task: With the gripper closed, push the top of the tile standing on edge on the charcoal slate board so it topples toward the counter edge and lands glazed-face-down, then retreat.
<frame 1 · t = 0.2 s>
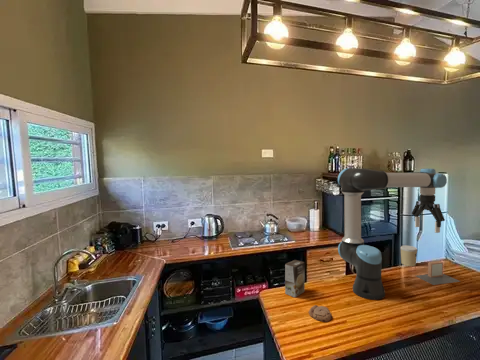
hand: (426, 229, 160), 26 cm above the counter, fingers open, 13 cm apart
coffee cup: (408, 266, 174), on the counter
tile: (435, 275, 155), point 1 cm above the counter, touching slate board
coffee box: (295, 293, 141), on the counter
cookie: (320, 316, 120), on the counter
slate board: (437, 280, 152), on the counter
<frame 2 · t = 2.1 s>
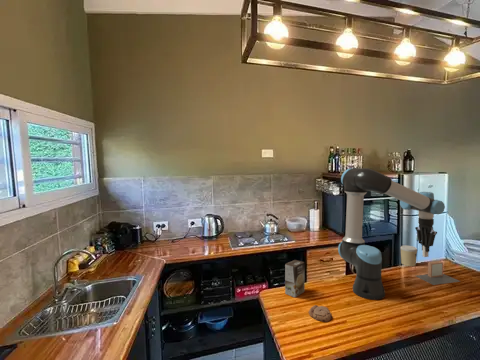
hand: (425, 256, 161), 10 cm above the counter, fingers closed
nothing on the counter moved.
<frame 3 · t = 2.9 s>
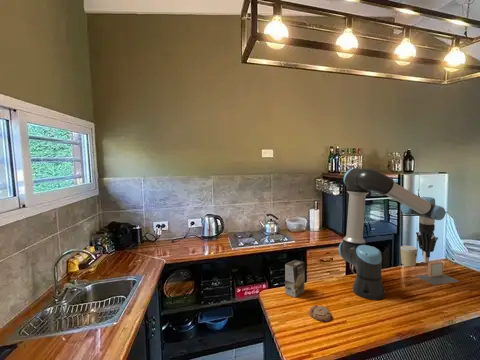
hand: (425, 261, 161), 7 cm above the counter, fingers closed
nothing on the counter moved.
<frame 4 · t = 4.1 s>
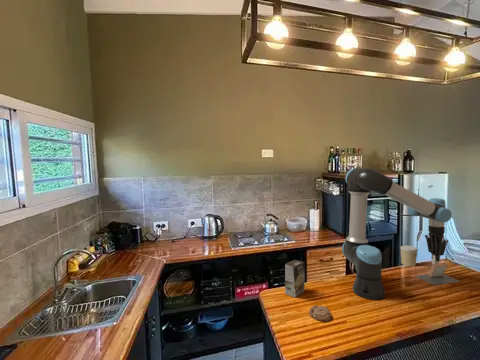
hand: (435, 265, 154), 7 cm above the counter, fingers closed
tile: (435, 275, 155), point 2 cm above the counter, tilted 21°, touching slate board
everything else where it was.
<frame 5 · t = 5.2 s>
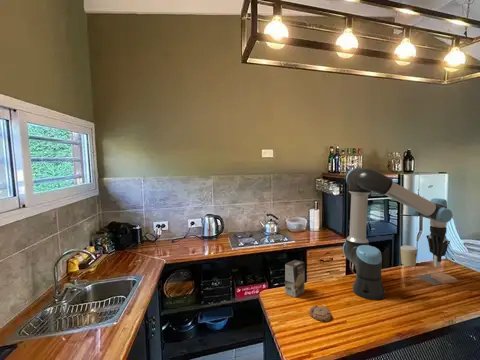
hand: (437, 266, 153), 7 cm above the counter, fingers closed
tile: (436, 274, 154), point 2 cm above the counter, tilted 90°, touching slate board
everything else where it was.
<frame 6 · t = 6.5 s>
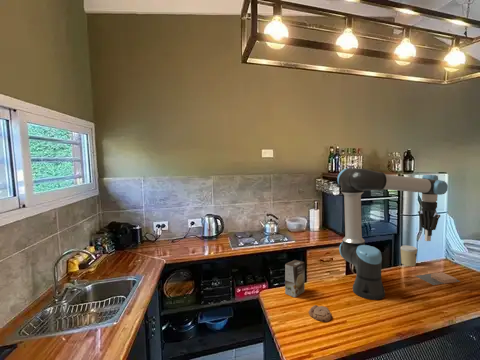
hand: (427, 240, 158), 21 cm above the counter, fingers closed
nothing on the counter moved.
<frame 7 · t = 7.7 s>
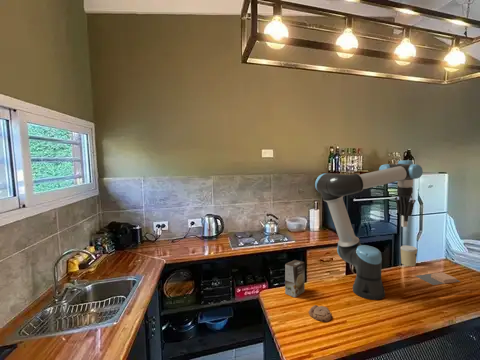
hand: (404, 226, 158), 29 cm above the counter, fingers closed
nothing on the counter moved.
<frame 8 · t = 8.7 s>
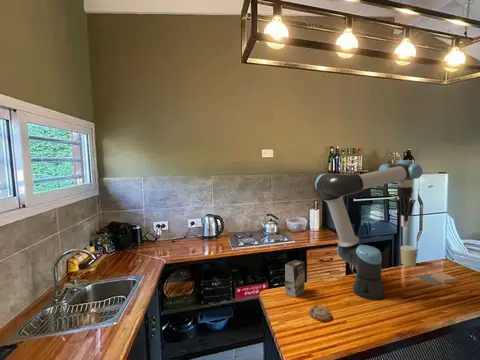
hand: (404, 226, 158), 29 cm above the counter, fingers closed
nothing on the counter moved.
at the end: tile tilted 90°; tile inside the target area on the slate board (4.4 cm from its centre), point 2.2 cm above the slate board's base; the gripper is holding nothing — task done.
